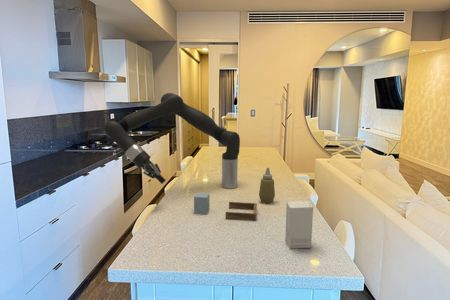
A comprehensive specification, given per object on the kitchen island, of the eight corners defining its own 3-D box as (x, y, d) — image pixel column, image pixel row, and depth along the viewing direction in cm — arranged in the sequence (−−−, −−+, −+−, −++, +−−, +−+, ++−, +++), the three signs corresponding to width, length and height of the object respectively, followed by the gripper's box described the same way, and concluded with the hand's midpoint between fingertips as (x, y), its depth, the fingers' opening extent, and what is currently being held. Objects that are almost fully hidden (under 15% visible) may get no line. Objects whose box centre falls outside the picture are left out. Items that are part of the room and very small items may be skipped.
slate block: (197, 209, 143) (196, 192, 142) (209, 209, 142) (209, 193, 141) (194, 213, 137) (194, 196, 136) (207, 214, 136) (207, 197, 135)
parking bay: (229, 207, 145) (229, 201, 144) (256, 209, 143) (256, 203, 143) (225, 219, 131) (225, 212, 131) (255, 221, 129) (255, 214, 129)
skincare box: (306, 240, 112) (308, 200, 110) (311, 249, 106) (314, 207, 103) (284, 240, 112) (286, 200, 109) (288, 249, 106) (290, 207, 103)
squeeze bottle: (262, 205, 148) (263, 170, 145) (256, 200, 156) (257, 166, 153) (277, 204, 151) (278, 169, 147) (270, 199, 158) (272, 165, 155)
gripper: (137, 152, 132) (164, 180, 133) (148, 147, 145) (173, 173, 145) (126, 163, 134) (153, 191, 134) (138, 158, 147) (163, 183, 147)
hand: (163, 182), depth 140 cm, fingers closed
